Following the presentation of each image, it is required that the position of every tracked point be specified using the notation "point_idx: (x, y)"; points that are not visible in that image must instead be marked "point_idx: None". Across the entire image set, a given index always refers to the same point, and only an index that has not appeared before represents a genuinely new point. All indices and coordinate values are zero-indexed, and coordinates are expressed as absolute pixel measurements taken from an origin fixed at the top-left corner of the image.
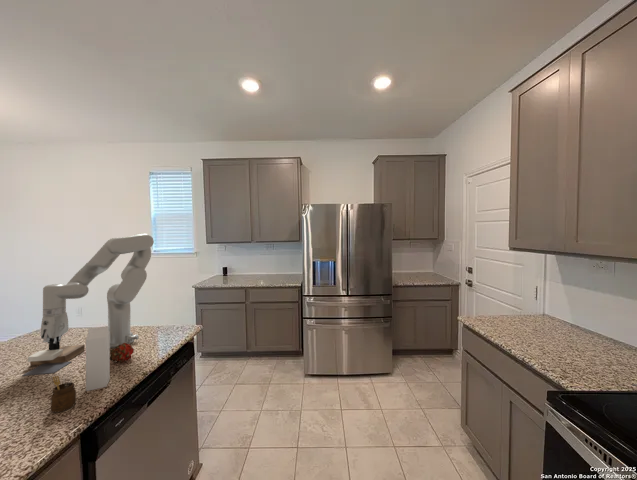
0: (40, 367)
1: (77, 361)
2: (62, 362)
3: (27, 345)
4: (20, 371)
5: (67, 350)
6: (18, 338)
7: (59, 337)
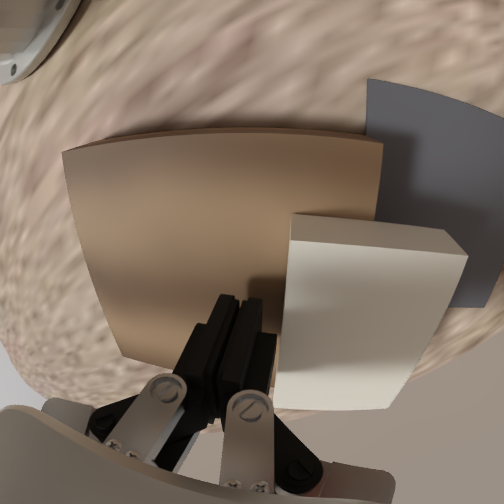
0: None
1: (357, 35)
2: None
3: None
4: None
5: (189, 222)
6: None
7: (154, 427)
